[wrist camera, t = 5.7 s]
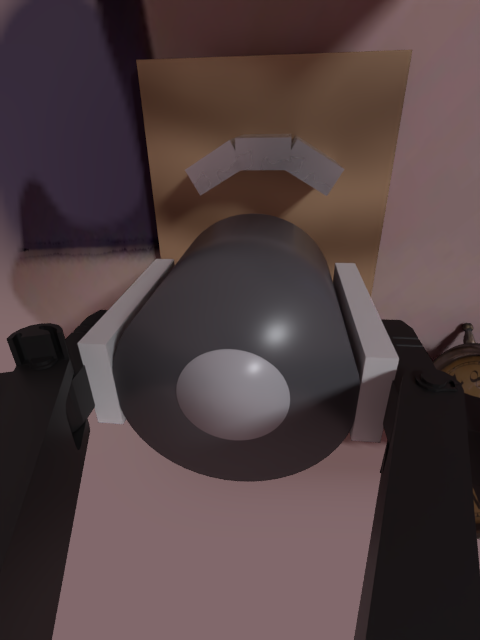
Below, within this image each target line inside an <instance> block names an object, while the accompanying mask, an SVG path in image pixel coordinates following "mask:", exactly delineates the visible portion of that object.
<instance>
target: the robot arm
mask: <svg viewBox="0 0 480 640" xmlns="http://www.w3.org/2000/svg"><path fill="white" fill-rule="evenodd" d="M174 266H175V264H174V259H155V261H154V262H153V263H152V264H151V265H150V266H149V267H148V268H147V269H146V270H145V271H144V272H143V273H142V274H141V276H140V277H139V278H138V279H137V280H136V281H135V282H134V283H133V284H132V285H131V286H130V287H129V288H128V289H127V291H126V292H125V293H124V294H123V295H122V296H121V297H120V298H119V299H118V300H117V301H116V302H115V303H114V305H113V306H112V307H111V308H110V309H109V310H100V311H98V312H96V313H94V314H92V315H90V316H88V317H87V318H86V319H85V320H84V321H83V322H82V323H81V324H80V326H78V327H77V328H76V329H75V330H74V333H71V334H70V335H69V336H68V337H67V338H66V339H65V337H64V334H63V330H62V328H61V327H60V326H59V325H56V324H51V323H47V324H37V325H31V326H28V327H25V328H22V329H20V330H18V331H16V332H14V333H13V334H11V335H10V336H9V337H8V338H7V341H8V344H9V347H10V350H11V352H12V355H13V358H14V360H15V363H16V368H15V370H14V371H13V372H6V373H0V640H52V635H53V630H54V624H55V619H56V613H57V607H58V602H59V597H60V592H61V586H62V581H63V575H64V570H65V564H66V559H67V553H68V547H69V542H70V537H71V531H72V526H73V521H74V515H75V509H76V504H77V498H78V493H79V488H80V483H81V477H82V471H83V466H84V461H85V455H86V450H87V444H88V439H89V433H90V427H89V422H88V419H87V418H88V416H89V415H90V413H91V412H92V410H93V409H94V408H95V412H96V415H97V419H98V422H100V423H113V424H124V422H125V420H126V418H125V416H124V414H123V412H122V410H121V408H120V405H119V401H118V396H117V391H116V387H115V382H114V378H113V361H114V354H115V351H116V348H117V345H118V342H119V340H120V338H121V336H122V334H123V333H124V331H125V329H126V328H127V327H128V325H129V324H130V323H131V321H132V320H133V319H134V317H135V316H136V315H137V314H138V312H139V311H140V310H141V308H142V307H143V306H144V304H145V303H146V302H147V301H148V299H149V298H150V297H151V295H152V294H153V293H154V292H155V290H156V289H157V288H158V286H159V285H160V284H161V283H162V281H163V280H164V279H165V277H166V276H167V275H168V274H169V272H170V271H171V270H172V268H173V267H174ZM333 285H334V288H335V292H336V295H337V299H338V302H339V306H340V309H341V313H342V317H343V320H344V324H345V327H346V331H347V334H348V338H349V341H350V345H351V349H352V352H353V356H354V359H355V363H356V366H357V370H358V373H359V380H360V392H359V398H358V404H357V410H356V415H355V421H354V424H353V426H352V428H351V430H350V436H351V441H364V442H378V443H380V441H381V437H382V432H383V428H384V430H385V433H386V436H387V439H388V441H387V445H386V449H385V454H384V458H383V462H382V466H381V470H380V473H381V478H380V484H379V490H378V496H377V503H376V508H375V514H374V521H373V527H372V533H371V540H370V545H369V551H368V557H367V563H366V569H365V575H364V582H363V588H362V594H361V600H360V606H359V612H358V618H357V625H356V630H355V636H354V640H480V569H479V558H478V546H477V535H476V523H475V512H474V500H473V489H474V491H475V494H476V496H477V499H478V501H479V504H480V398H479V397H476V396H472V395H469V394H466V393H464V389H463V387H462V385H461V383H460V382H459V381H458V380H457V379H455V378H454V377H453V376H451V375H449V374H447V373H446V372H443V371H440V370H437V369H436V367H435V366H434V364H433V362H432V361H431V359H430V357H429V356H428V354H427V352H426V350H425V349H424V347H422V344H421V342H420V340H419V339H418V337H417V335H416V334H415V332H414V330H413V329H412V328H411V327H410V326H408V325H407V324H406V323H404V322H403V321H401V320H382V319H381V318H380V316H379V314H378V312H377V310H376V308H375V305H374V303H373V301H372V299H371V297H370V295H369V292H368V290H367V288H366V286H365V284H364V282H363V279H362V277H361V275H360V273H359V271H358V269H357V267H356V264H355V263H335V268H334V277H333ZM472 486H473V489H472Z"/></svg>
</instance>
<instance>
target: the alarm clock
mask: <svg viewBox="0 0 480 640" xmlns="http://www.w3.org/2000/svg"><path fill="white" fill-rule="evenodd" d="M463 330H464V331H465V335H464V340H463V342H464V344H462V345H458V346H455V347H453V348H451V349H449V350H447V351H445V352H444V353H443V354H441V355H440V356H439V357H438V358H437V359H435V360H434V361H433V364H434V366H435V367H436V369H437V370H440V371H443V372H446V373H447V374H449V375H451V376H453V377H454V378H455V379H457V380H458V381H459V382H460V383H461V385H462V387H463V389H464V393H466V394H469V395H472V396H476V397H479V398H480V344H478V343H475V340H474V337H473V334H472V330H473V326H472V324H471V323H465V324H464V325H463ZM472 489H473V486H472ZM473 500H474V512H475V523H476V535H477V539H480V504H479V501H478V499H477V496H476V494H475V491H474V489H473Z"/></svg>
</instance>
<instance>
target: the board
mask: <svg viewBox="0 0 480 640" xmlns="http://www.w3.org/2000/svg"><path fill="white" fill-rule="evenodd" d="M411 55H412V50H393V51H365V52H338V53H311V54H284V55H256V56H229V57H202V58H174V59H147V60H136V62H137V70H138V78H139V86H140V94H141V102H142V110H143V118H144V126H145V134H146V142H147V150H148V159H149V167H150V175H151V183H152V191H153V199H154V207H155V215H156V223H157V231H158V239H159V247H160V255H161V259H174V264H175V265H176V263H177V262H178V261H179V259H180V258H181V257H182V256H183V254H184V253H185V252H186V250H187V249H188V248H189V247H190V245H191V244H192V243H193V241H194V240H195V239H196V238H197V237H198V236H199V235H200V234H201V233H202V232H203V231H204V230H206V229H207V228H208V227H210V226H211V225H213V224H215V223H216V222H218V221H220V220H223V219H226V218H228V217H231V216H236V215H240V214H251V213H252V214H265V215H271V216H275V217H278V218H281V219H284V220H286V221H288V222H290V223H292V224H294V225H296V226H297V227H299V228H300V229H302V230H303V231H304V232H305V233H307V234H308V235H309V236H310V237H311V238H312V239H313V240H314V241H315V243H316V244H317V245H318V246H319V248H320V250H321V251H322V253H323V255H324V257H325V259H326V261H327V264H328V267H329V270H330V274H331V277H332V281H333V277H334V268H335V263H355V264H356V267H357V269H358V271H359V273H360V275H361V277H362V279H363V282H364V284H365V286H366V288H367V290H368V292H369V295H370V297H371V293H372V287H373V281H374V275H375V269H376V263H377V257H378V251H379V245H380V239H381V233H382V227H383V221H384V215H385V209H386V203H387V197H388V191H389V186H390V180H391V174H392V168H393V162H394V156H395V150H396V144H397V138H398V132H399V126H400V120H401V114H402V108H403V102H404V96H405V90H406V84H407V78H408V72H409V67H410V61H411ZM244 134H291V137H292V138H291V143H292V141H293V140H294V138H295V136H298V137H300V138H301V139H303V140H304V141H306V142H307V143H309V144H310V145H312V146H313V147H315V148H317V149H318V150H320V151H321V152H323V153H324V154H326V155H327V156H329V157H331V158H332V159H334V160H335V161H336V162H337V163H338V164H339V165H340V166H341V167H342V168H344V171H343V172H342V174H341V175H340V177H339V178H338V180H337V181H336V183H335V184H334V186H333V188H332V189H331V191H330V192H329V194H328V195H327V196H326V195H324V194H322V193H321V192H319V191H318V190H316V189H314V188H313V187H311V186H310V185H308V184H306V183H305V182H303V181H302V180H300V179H298V178H297V177H295V176H294V175H292V174H290V173H289V172H287V171H286V170H240V171H239V172H237V173H236V174H234V175H232V176H231V177H229V178H228V179H226V180H224V181H223V182H221V183H220V184H218V185H217V186H215V187H213V188H212V189H210V190H209V191H207V192H205V193H204V194H202V195H201V196H200V194H199V193H198V191H197V189H196V188H195V186H194V184H193V183H192V181H191V179H190V178H189V176H188V174H187V173H186V171H185V169H187V168H188V167H190V166H191V165H193V164H194V163H196V162H197V161H199V160H200V159H202V158H203V157H205V156H206V155H208V154H209V153H211V152H212V151H214V150H215V149H217V148H218V147H220V146H221V145H223V144H224V143H226V142H227V141H229V140H231V139H233V138H236V137H238V136H242V135H244Z"/></svg>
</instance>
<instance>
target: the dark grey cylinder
mask: <svg viewBox="0 0 480 640" xmlns="http://www.w3.org/2000/svg"><path fill="white" fill-rule="evenodd" d="M113 378H114V382H115V387H116V391H117V396H118V401H119V405H120V408H121V410H122V412H123V414H124V416H125V418H126V419H127V421H128V422H129V423H130V425H131V426H132V428H133V429H134V430H135V431H136V432H137V434H138V435H139V436H140V437H141V438H142V439H143V440H144V441H145V442H146V443H147V444H148V445H149V446H150V447H152V448H153V449H154V450H156V451H157V452H158V453H160V454H161V455H162V456H164V457H165V458H167V459H169V460H170V461H172V462H174V463H176V464H178V465H180V466H182V467H184V468H186V469H189V470H191V471H194V472H196V473H199V474H203V475H206V476H209V477H214V478H219V479H224V480H233V481H264V480H272V479H278V478H282V477H286V476H289V475H293V474H296V473H298V472H301V471H303V470H306V469H308V468H310V467H311V466H313V465H315V464H317V463H319V462H320V461H322V460H323V459H324V458H326V457H327V456H329V455H330V454H331V453H332V452H333V451H334V450H335V449H336V448H337V447H338V446H339V445H340V444H341V443H342V441H343V440H344V439H345V438H346V436H347V435H348V433H349V431H350V430H351V428H352V426H353V424H354V421H355V415H356V410H357V404H358V398H359V392H360V380H359V373H358V370H357V366H356V363H355V359H354V356H353V352H352V349H351V345H350V341H349V338H348V334H347V331H346V327H345V324H344V320H343V317H342V313H341V309H340V306H339V302H338V299H337V295H336V292H335V288H334V285H333V281H332V277H331V274H330V270H329V267H328V264H327V261H326V259H325V257H324V255H323V253H322V251H321V250H320V248H319V246H318V245H317V244H316V243H315V241H314V240H313V239H312V238H311V237H310V236H309V235H308V234H307V233H305V232H304V231H303V230H302V229H300V228H299V227H297V226H296V225H294V224H292V223H290V222H288V221H286V220H284V219H281V218H278V217H275V216H271V215H265V214H252V213H251V214H240V215H236V216H231V217H228V218H226V219H223V220H220V221H218V222H216V223H215V224H213V225H211V226H210V227H208V228H207V229H206V230H204V231H203V232H202V233H201V234H200V235H199V236H198V237H197V238H196V239H195V240H194V241H193V243H192V244H191V245H190V247H189V248H188V249H187V250H186V252H185V253H184V254H183V256H182V257H181V258H180V259H179V261H178V262H177V263H176V265H175V266H174V267H173V268H172V270H171V271H170V272H169V274H168V275H167V276H166V277H165V279H164V280H163V281H162V283H161V284H160V285H159V286H158V288H157V289H156V290H155V292H154V293H153V294H152V295H151V297H150V298H149V299H148V301H147V302H146V303H145V304H144V306H143V307H142V308H141V310H140V311H139V312H138V314H137V315H136V316H135V317H134V319H133V320H132V321H131V323H130V324H129V325H128V327H127V328H126V329H125V331H124V333H123V334H122V336H121V338H120V340H119V342H118V345H117V348H116V351H115V354H114V361H113Z"/></svg>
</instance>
